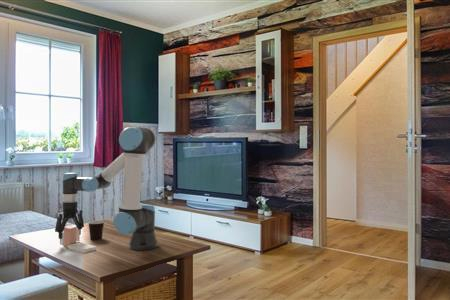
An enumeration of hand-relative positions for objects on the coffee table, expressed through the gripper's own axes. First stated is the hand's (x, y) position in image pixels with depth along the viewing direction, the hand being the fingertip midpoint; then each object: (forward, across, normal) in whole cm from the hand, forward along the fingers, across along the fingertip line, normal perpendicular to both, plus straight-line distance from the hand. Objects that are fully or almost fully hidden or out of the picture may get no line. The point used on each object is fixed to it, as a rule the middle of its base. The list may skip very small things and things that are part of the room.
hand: (69, 242), depth 201 cm
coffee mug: (+2, -19, -1) cm, 19 cm away
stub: (+2, 0, 0) cm, 2 cm away
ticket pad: (+2, 0, +11) cm, 11 cm away
